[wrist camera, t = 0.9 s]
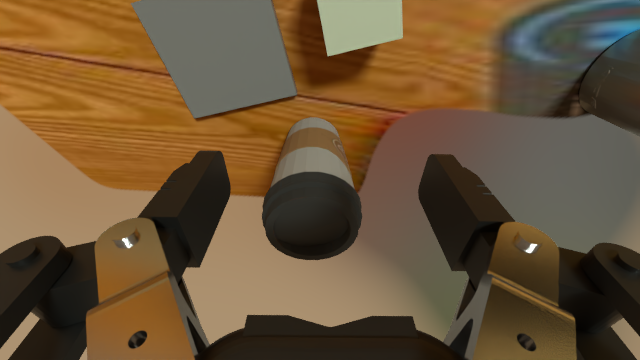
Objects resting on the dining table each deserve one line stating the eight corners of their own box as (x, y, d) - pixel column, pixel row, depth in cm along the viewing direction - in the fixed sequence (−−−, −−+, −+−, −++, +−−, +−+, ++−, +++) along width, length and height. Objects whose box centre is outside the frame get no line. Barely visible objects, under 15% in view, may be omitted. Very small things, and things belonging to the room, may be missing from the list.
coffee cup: (355, 155, 34) (377, 249, 22) (296, 175, 35) (287, 272, 23) (333, 96, 29) (346, 175, 17) (267, 122, 31) (236, 210, 19)
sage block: (381, -54, 21) (400, -65, 17) (386, 27, 25) (402, 37, 20) (311, -34, 22) (309, -38, 17) (325, 43, 26) (327, 56, 21)
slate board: (262, -35, 22) (260, -36, 21) (297, 91, 28) (297, 94, 28) (137, 2, 23) (131, 3, 23) (197, 114, 30) (194, 118, 29)
